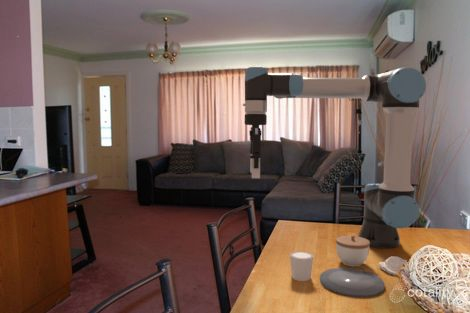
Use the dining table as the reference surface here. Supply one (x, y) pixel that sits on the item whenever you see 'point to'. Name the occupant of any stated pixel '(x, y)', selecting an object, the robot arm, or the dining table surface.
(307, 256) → the white cup
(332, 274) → the dish
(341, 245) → the lidded jar
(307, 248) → the dining table surface
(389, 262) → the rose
